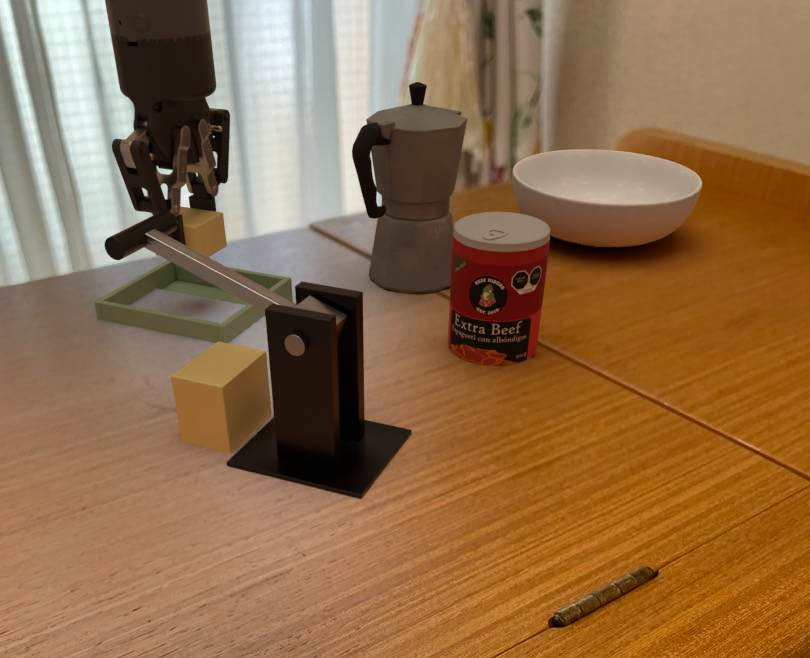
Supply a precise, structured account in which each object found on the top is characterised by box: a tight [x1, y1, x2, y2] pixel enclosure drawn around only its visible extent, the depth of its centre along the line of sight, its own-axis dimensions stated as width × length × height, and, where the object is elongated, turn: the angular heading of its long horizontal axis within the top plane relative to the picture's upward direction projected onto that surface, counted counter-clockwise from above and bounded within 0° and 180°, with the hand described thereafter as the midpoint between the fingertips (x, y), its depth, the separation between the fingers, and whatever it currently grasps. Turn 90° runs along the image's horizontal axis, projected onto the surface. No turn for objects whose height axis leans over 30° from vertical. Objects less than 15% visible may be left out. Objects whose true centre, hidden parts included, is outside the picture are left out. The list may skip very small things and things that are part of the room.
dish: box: [93, 259, 294, 344], centre depth 80 cm, size 13×12×2 cm
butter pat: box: [155, 205, 228, 258], centre depth 76 cm, size 4×4×3 cm
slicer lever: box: [104, 210, 347, 345], centre depth 56 cm, size 15×6×2 cm, turn 68°
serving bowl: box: [511, 148, 703, 248], centre depth 99 cm, size 21×21×7 cm
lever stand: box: [226, 280, 413, 500], centre depth 58 cm, size 10×9×12 cm
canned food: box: [447, 211, 551, 367], centre depth 72 cm, size 8×8×11 cm
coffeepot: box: [351, 81, 468, 294], centre depth 83 cm, size 15×9×18 cm, turn 142°
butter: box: [170, 342, 273, 454], centre depth 62 cm, size 4×6×6 cm, turn 158°
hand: (191, 247), depth 77 cm, fingers closed on butter pat, 4 cm apart
